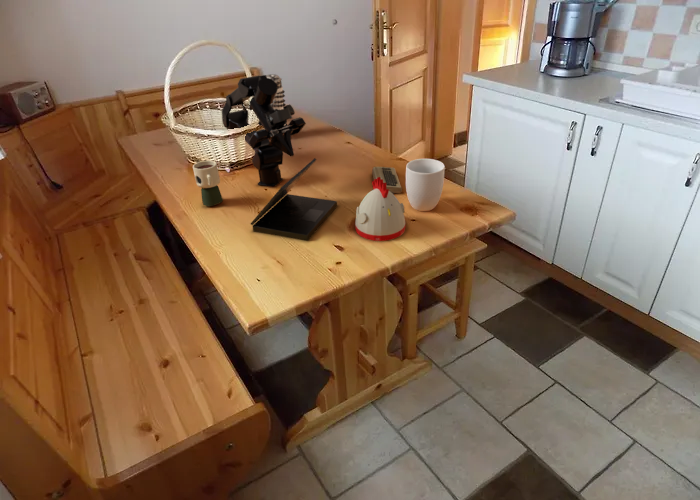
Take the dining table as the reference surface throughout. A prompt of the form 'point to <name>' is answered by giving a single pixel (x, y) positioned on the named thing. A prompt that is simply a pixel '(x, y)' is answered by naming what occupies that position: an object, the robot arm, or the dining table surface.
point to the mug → (424, 183)
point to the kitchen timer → (380, 214)
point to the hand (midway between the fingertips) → (292, 155)
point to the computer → (388, 178)
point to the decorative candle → (278, 93)
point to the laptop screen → (283, 191)
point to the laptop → (295, 217)
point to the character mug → (208, 182)
